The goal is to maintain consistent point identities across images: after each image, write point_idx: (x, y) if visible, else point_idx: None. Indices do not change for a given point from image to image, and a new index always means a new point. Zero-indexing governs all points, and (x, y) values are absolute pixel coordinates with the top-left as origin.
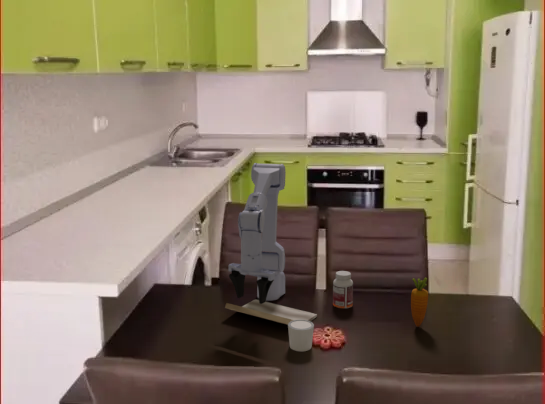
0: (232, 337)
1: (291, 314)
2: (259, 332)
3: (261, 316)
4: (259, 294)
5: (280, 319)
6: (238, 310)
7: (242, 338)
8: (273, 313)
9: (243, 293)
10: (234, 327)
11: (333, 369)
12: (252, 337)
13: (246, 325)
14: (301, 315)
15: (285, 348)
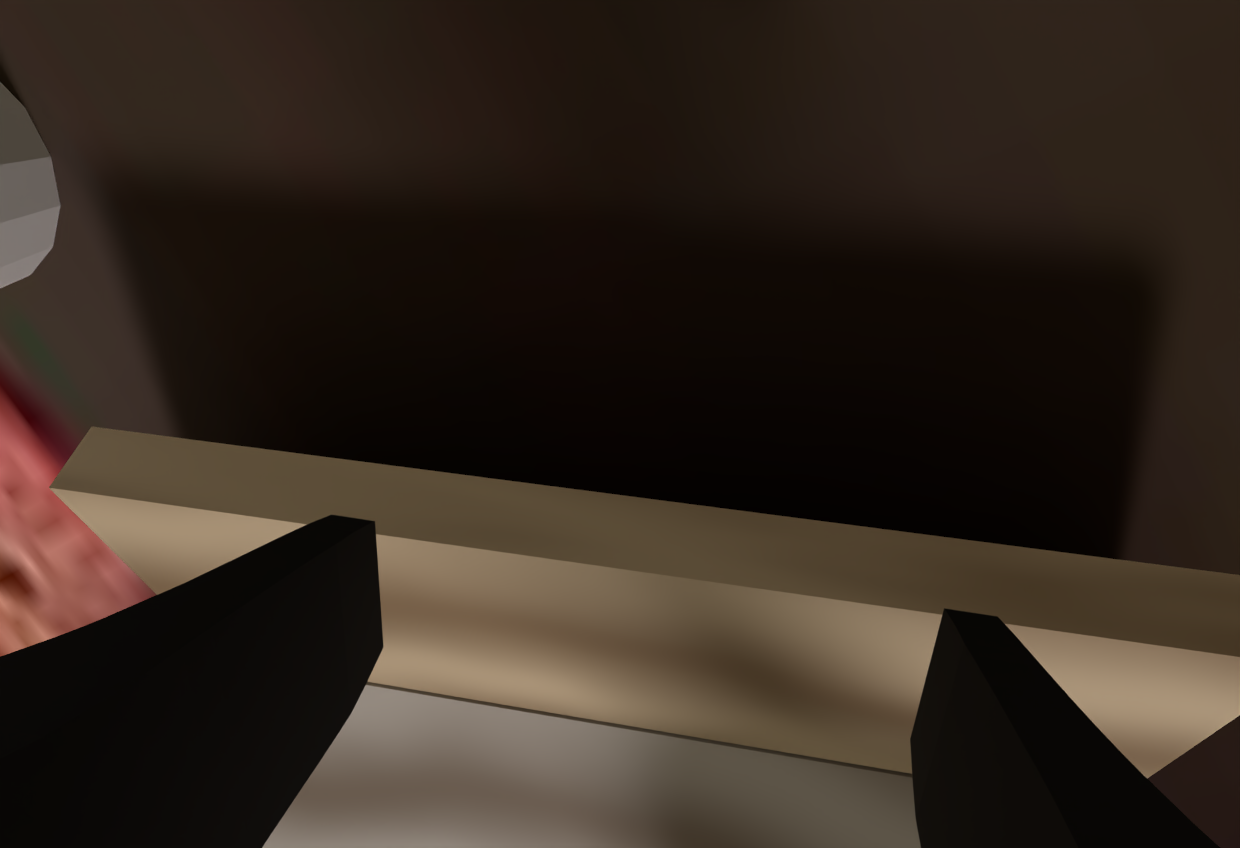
0: (809, 14)
1: (447, 802)
2: (569, 345)
3: (529, 493)
4: (202, 612)
5: (213, 475)
6: (979, 552)
7: (661, 65)
8: (627, 771)
9: (916, 791)
10: (946, 333)
11: None
12: (561, 168)
13: (823, 455)
14: (354, 811)
15: (68, 93)
